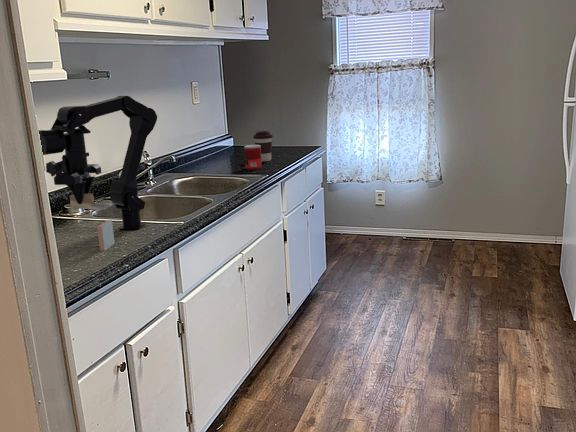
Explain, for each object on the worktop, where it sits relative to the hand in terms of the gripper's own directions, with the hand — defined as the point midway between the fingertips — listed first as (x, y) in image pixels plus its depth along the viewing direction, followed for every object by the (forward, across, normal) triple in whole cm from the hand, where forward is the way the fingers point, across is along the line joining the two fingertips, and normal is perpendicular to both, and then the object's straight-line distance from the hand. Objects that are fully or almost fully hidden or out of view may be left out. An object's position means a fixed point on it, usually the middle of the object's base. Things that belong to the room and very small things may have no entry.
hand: (82, 202), depth 174 cm
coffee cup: (+11, -138, +34) cm, 142 cm away
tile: (+12, +6, +9) cm, 16 cm away
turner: (+1, 0, +2) cm, 3 cm away
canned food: (+11, -116, +32) cm, 121 cm away
